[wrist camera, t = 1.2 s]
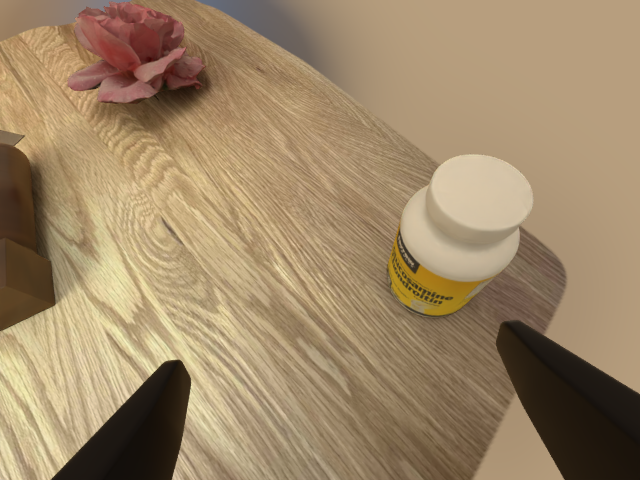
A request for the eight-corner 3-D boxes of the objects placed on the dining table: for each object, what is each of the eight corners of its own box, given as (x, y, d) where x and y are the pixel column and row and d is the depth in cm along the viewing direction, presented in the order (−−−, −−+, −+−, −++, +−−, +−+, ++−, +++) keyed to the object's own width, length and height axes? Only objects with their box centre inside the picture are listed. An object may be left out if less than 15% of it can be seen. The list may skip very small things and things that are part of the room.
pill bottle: (372, 259, 26) (388, 161, 16) (441, 235, 27) (498, 126, 17) (408, 333, 23) (457, 268, 13) (486, 303, 24) (589, 219, 14)
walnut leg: (55, 304, 26) (6, 285, 23) (0, 331, 26) (-61, 316, 22) (40, 157, 36) (3, 126, 32) (-1, 173, 35) (-43, 143, 31)
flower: (142, 131, 32) (90, 13, 26) (67, 111, 38) (9, 11, 32) (239, 89, 41) (219, -5, 35) (166, 78, 47) (138, -4, 41)
